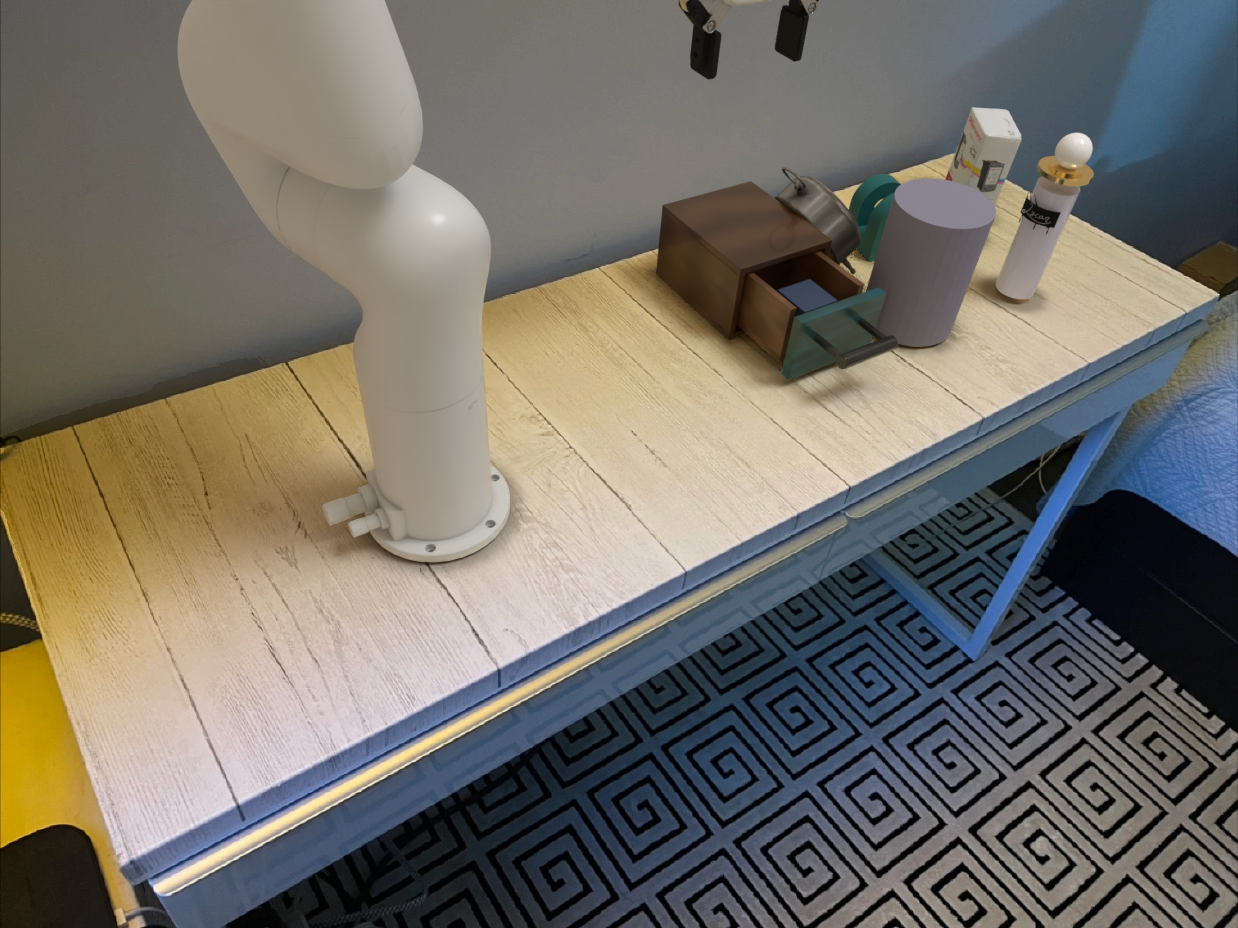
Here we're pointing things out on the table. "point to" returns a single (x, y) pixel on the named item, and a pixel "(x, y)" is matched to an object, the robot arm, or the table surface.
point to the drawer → (813, 316)
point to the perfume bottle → (1045, 215)
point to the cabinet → (728, 247)
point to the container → (929, 258)
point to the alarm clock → (823, 214)
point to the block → (806, 296)
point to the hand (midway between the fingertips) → (745, 64)
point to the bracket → (872, 211)
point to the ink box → (985, 151)
